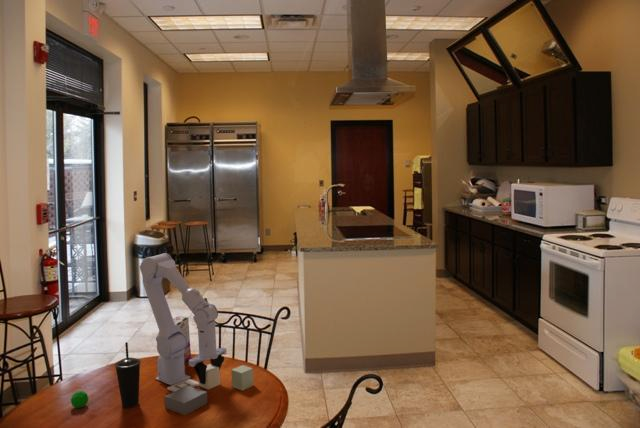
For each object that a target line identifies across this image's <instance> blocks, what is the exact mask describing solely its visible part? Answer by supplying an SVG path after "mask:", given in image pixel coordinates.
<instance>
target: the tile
mask: <svg viewBox="0 0 640 428" xmlns="http://www.w3.org/2000/svg"><path fill="white" fill-rule="evenodd" d="M185 386H190V387H193V388H195V387H198V386H199V381H198V380H197V381H196V380H195V379H191V378H189V379H186V380H184V381H182V382H179V383H177V384H174V385H170V386H168V387H167V388H166V390H167V391H170V392H171V393H173V392H175V391H177V390H179V389H181V388H183V387H185Z"/></svg>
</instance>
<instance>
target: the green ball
mask: <svg viewBox="0 0 640 428" xmlns="http://www.w3.org/2000/svg"><path fill="white" fill-rule="evenodd" d="M88 402H89V396H88V393H87V392H85V391H83V390H78V391H76V392H75V393H74V394H72V396H71V398H70V403H71V405H72V407H73V408H76V409H80V408H81V407H82V408H83V407H85V405H87V404H88ZM82 408H81V409H82Z"/></svg>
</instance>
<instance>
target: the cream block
mask: <svg viewBox="0 0 640 428" xmlns="http://www.w3.org/2000/svg"><path fill="white" fill-rule="evenodd" d="M206 365H207V369H206V383H205V384H201V383H200V381H199V378H198V382H199V385H198V386H199V387H201V388H203V389H206V390H211V389H213V388H215V387H217V386H219V385H221V377H220V376H221V375H220V372H219V367H217V366H214V365H211V363H210V364H206Z"/></svg>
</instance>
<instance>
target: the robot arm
mask: <svg viewBox="0 0 640 428" xmlns="http://www.w3.org/2000/svg"><path fill="white" fill-rule="evenodd" d="M139 270H140V272H141V275H142V284H143V288H144V290H145V293H146V296H147V299H148V302H149V305H150V308H151V311H152V313H153V316H154V319H155V323H156V324H157V328H158V330H159V331H158V333H157V334H156V337H155V341H156V350H157V353H158V354H159V355H158V357H157V361H156V367H157V377H156V378H155V379H156V380H157V381H160V382H162V383H164V384H166V385H170V386H173V385H175V384H178V383H180V382H182V381H185V380H187V379H191V376H190V375H187V374H186V370H185V369H186V368H185V363H184V352H185V348H186V347H187V344H188V340H187V337H186V336H185V334H184V333H183V332H182V329H181V328H180V327H178V326H176V325H175V323H174V321H173V319H174V318H173V316H172V311H171V309H170V307H169V303H168V301H167V298H166V296H165V292H164V289H163V285H162V284H161V282H162V280H163V279H167V280H168V281H169V282H170V283H171V284H172V286H173V287H174V288H175V289H177V291H178V292H179V293H180V294H181V300H182V302H183V303H184V304H185V305H186V307H188V309H189V310H190V311H191V312H192V314H193V320H194V323H195V324H196V329H197V333H198V334H197V335H198V336H197V338H198V339H197V340H198V354H197V355H196V356H194V357H191V358H189V359H188V366H189V367H192V368H193V369H194V371H195V372H196V375H197V377H198V378H199V379H198V382H199V381H200V383H201V384H205V383H206V369H207V365H208V364H205V362H206V361H209V360H210V364H211V365H214V366H217V367H219V372H220V371H221V368H222V365H223V363H224V361H225V357H224V356H223V355H227V348H226V347H223V346H222V347H219V348H217V335H216V320H217V319H218V316H219V310H218V309H217V307H216V305H215V304H213V303H209V301H206V299H205V298H204V297H203V296H202V295H201V292H200V291H199V289H197V288H196V287H195V288H193V287H190V285H189V284H188V282H187V281H186V280H185V278H184V277H183V275H182V274H181V272H180V271H179V269H178V268H177V267H176V262H175V260H174V259H173V258H172V256H171V255H170V254H168V253H166V252H165V253H160V254H157V255H154V256H147V257H145V258H143V259H142V260H141V263H140V265H139ZM170 335H172V336H170ZM169 336H170V337H169Z"/></svg>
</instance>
